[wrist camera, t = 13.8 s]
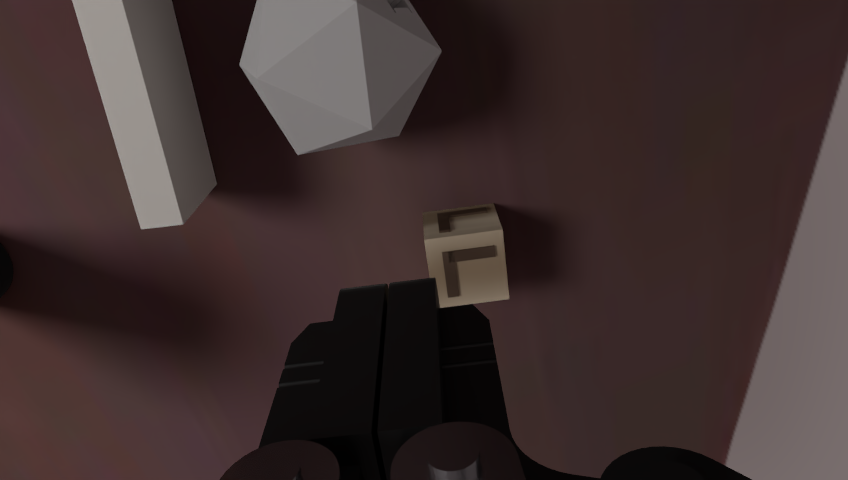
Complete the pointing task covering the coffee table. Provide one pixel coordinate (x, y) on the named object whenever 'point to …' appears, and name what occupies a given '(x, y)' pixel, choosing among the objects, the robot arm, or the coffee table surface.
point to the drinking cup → (5, 271)
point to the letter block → (466, 254)
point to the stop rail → (149, 105)
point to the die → (338, 68)
